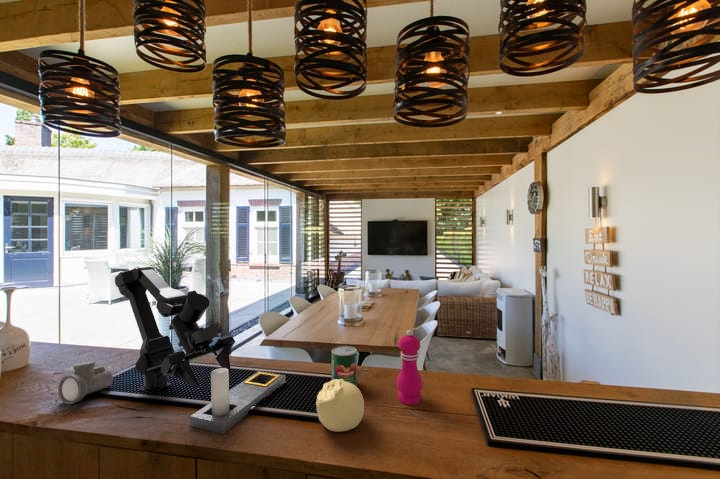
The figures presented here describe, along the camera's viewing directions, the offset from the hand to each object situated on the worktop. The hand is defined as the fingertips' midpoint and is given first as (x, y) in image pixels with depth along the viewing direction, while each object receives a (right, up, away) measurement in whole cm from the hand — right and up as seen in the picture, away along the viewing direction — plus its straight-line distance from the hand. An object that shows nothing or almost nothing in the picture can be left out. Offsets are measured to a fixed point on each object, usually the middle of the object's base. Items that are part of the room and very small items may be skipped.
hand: (214, 380), depth 90 cm
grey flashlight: (-43, -10, +13) cm, 46 cm away
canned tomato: (+33, -9, +18) cm, 38 cm away
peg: (+2, -10, -1) cm, 10 cm away
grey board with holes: (+5, -9, +8) cm, 13 cm away
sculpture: (+33, -10, -3) cm, 34 cm away
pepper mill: (+52, -9, +9) cm, 53 cm away
